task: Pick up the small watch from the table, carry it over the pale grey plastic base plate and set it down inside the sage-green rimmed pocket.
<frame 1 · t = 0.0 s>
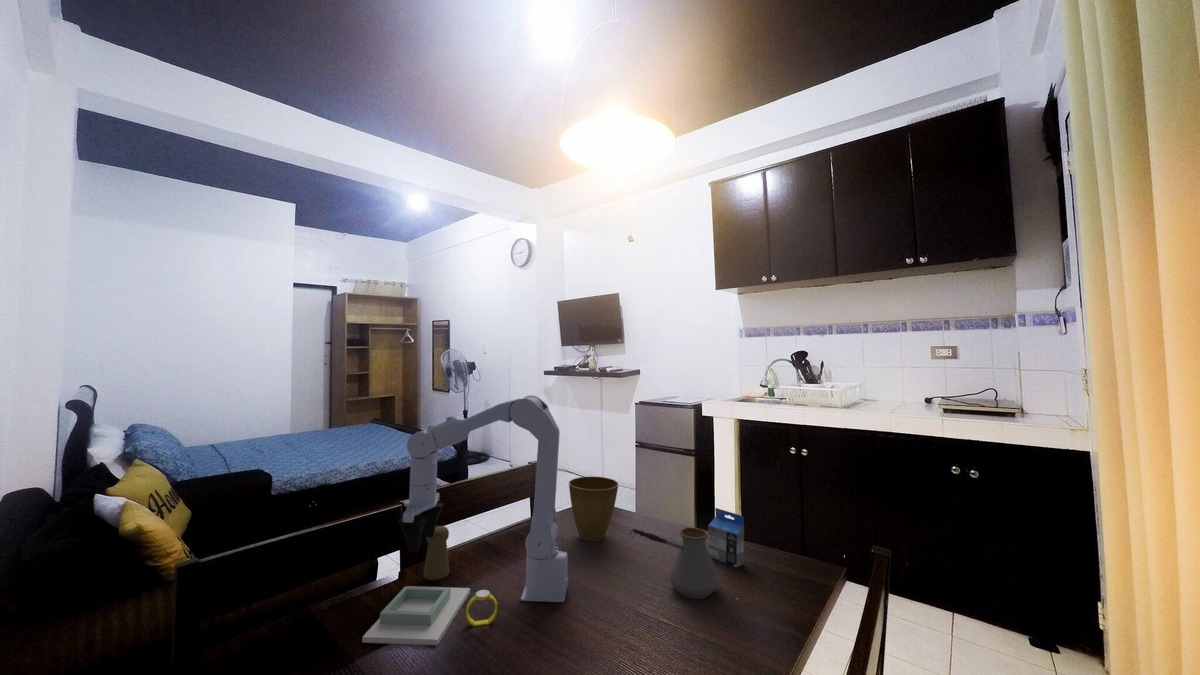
hand: (421, 543, 99), 10 cm above the table, tool pointing down, fingers open, 7 cm apart
olive pawn shaped peg: (436, 574, 105), on the table
coffee pot: (674, 593, 98), on the table
pocket plate: (421, 615, 88), on the table
plant pot: (592, 537, 129), on the table
label tape box: (725, 561, 115), on the table
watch: (481, 624, 86), on the table
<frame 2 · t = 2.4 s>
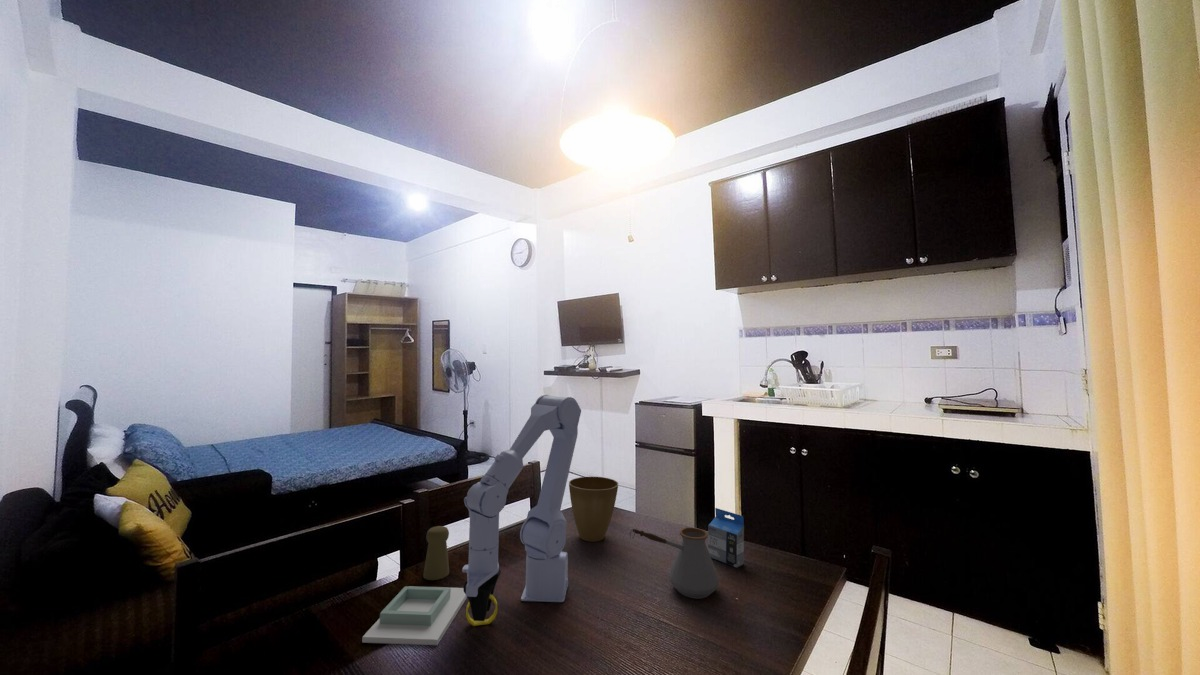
hand: (481, 614, 86), 2 cm above the table, tool pointing down, fingers closed on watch, 3 cm apart
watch: (481, 624, 86), on the table, touching gripper
everything else where it was.
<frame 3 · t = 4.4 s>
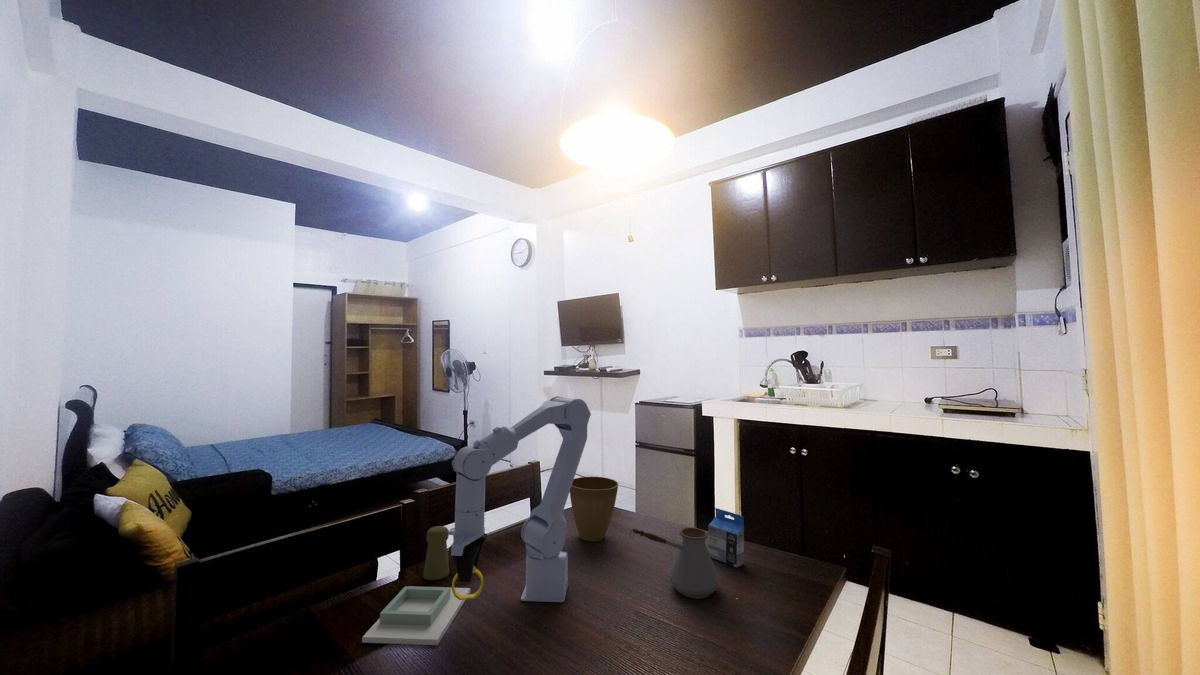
hand: (467, 577, 87), 9 cm above the table, tool pointing down, fingers closed on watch, 3 cm apart
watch: (467, 598, 86), point 4 cm above the table, touching gripper
everything else where it was.
when the fingers open (4 cm above the table, at t = 6.6 s): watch stays where it is, resting on pocket plate.
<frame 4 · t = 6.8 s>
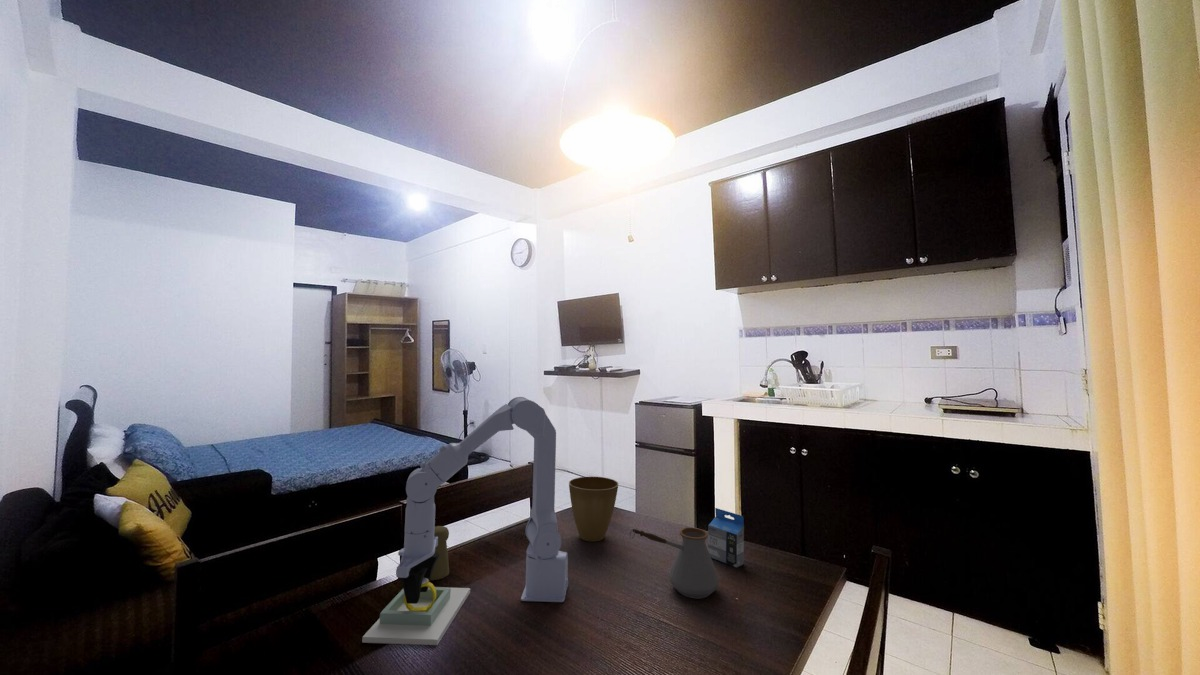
hand: (417, 596, 88), 4 cm above the table, tool pointing down, fingers open, 4 cm apart
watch: (419, 611, 88), point 1 cm above the table, touching pocket plate
everything else where it was.
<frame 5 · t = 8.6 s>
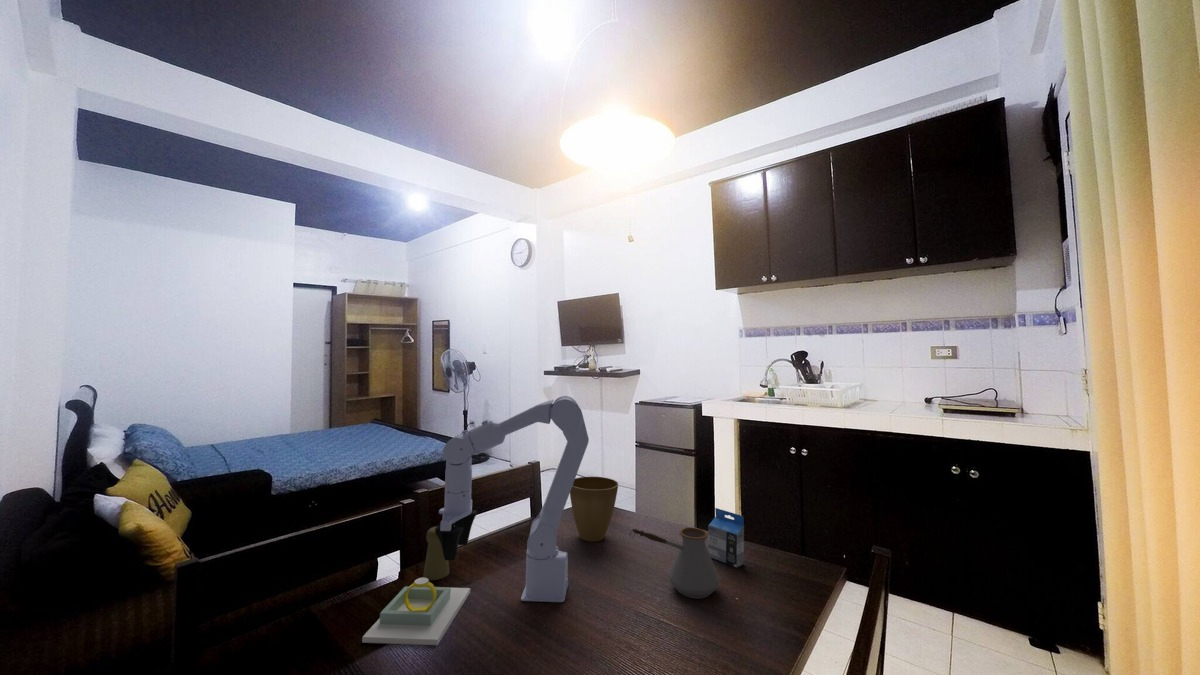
hand: (456, 551, 96), 9 cm above the table, tool pointing down, fingers open, 7 cm apart
nothing on the table moved.
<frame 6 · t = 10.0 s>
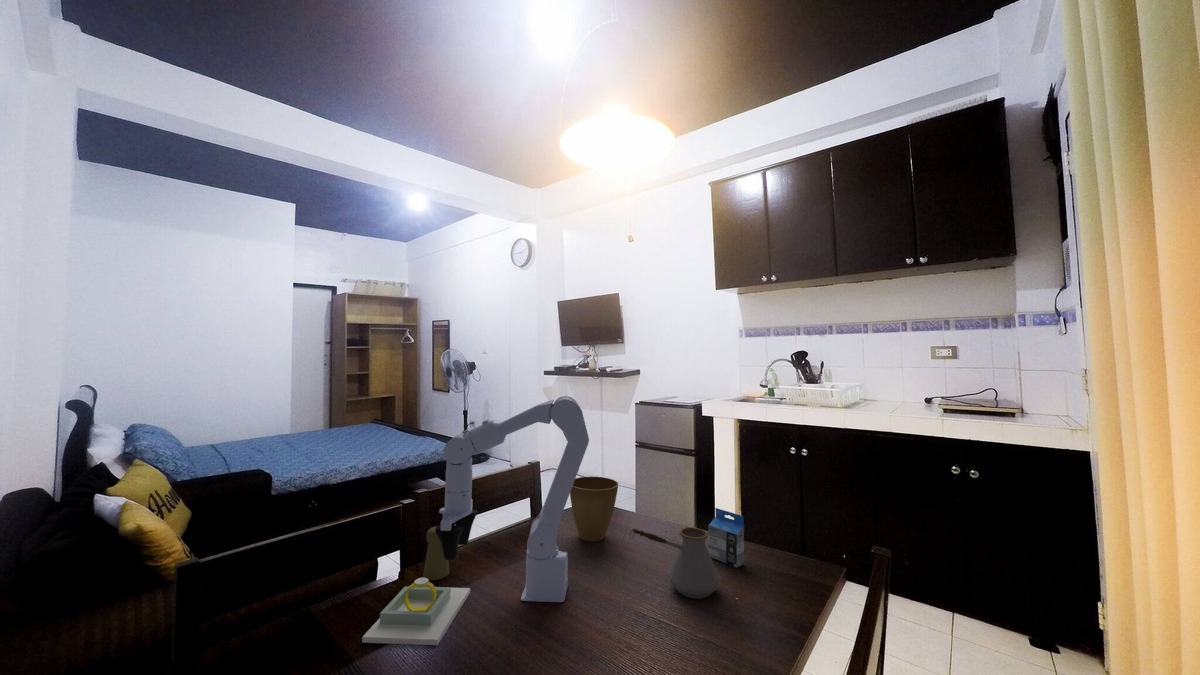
hand: (456, 551, 97), 9 cm above the table, tool pointing down, fingers open, 7 cm apart
nothing on the table moved.
at the end: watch 0.7 cm from the target spot on the pocket plate, point 0.8 cm above the pocket plate's base; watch tilted 1°; the gripper is holding nothing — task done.
